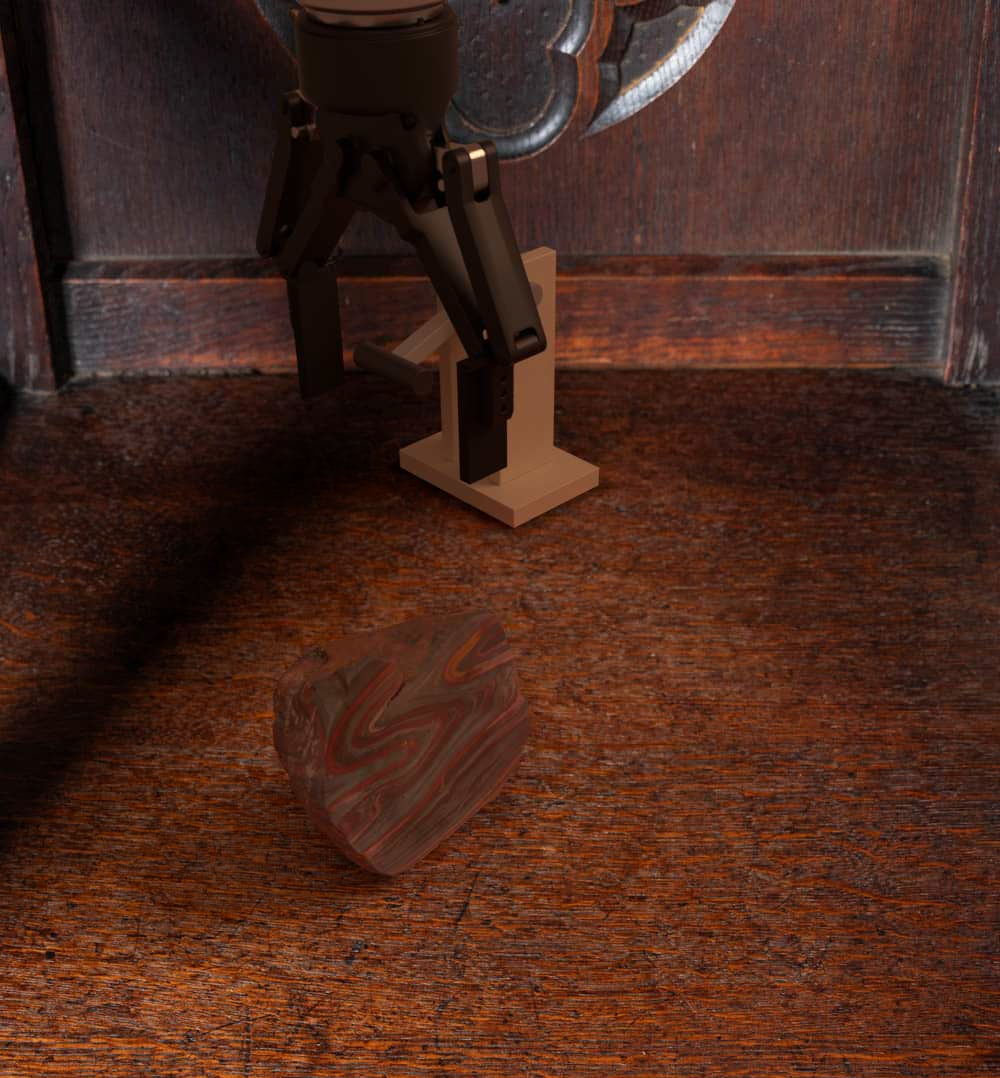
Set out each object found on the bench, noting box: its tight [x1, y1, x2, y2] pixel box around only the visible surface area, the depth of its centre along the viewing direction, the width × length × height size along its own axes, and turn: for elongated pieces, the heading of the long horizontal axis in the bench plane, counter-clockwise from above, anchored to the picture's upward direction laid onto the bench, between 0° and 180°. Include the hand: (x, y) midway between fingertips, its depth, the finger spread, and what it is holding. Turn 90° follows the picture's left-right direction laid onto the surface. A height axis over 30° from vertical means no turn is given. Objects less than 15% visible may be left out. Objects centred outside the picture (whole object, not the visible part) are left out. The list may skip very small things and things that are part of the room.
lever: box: [352, 252, 522, 397], centre depth 78 cm, size 10×5×2 cm, turn 132°
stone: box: [272, 608, 532, 877], centre depth 60 cm, size 13×8×10 cm
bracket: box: [398, 245, 600, 529], centre depth 82 cm, size 7×10×14 cm
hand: (399, 430), depth 79 cm, fingers open, 13 cm apart
